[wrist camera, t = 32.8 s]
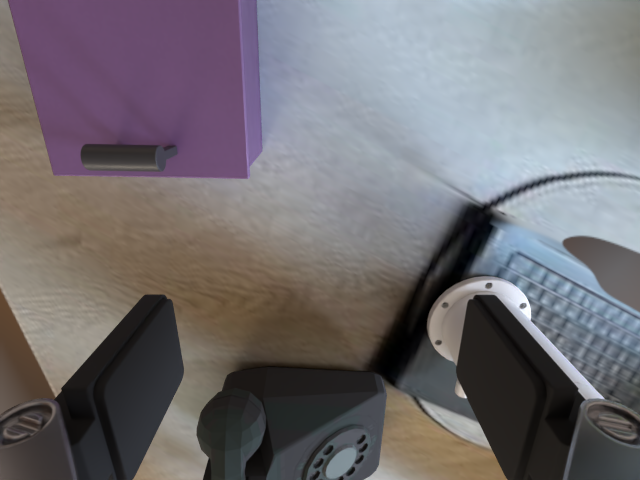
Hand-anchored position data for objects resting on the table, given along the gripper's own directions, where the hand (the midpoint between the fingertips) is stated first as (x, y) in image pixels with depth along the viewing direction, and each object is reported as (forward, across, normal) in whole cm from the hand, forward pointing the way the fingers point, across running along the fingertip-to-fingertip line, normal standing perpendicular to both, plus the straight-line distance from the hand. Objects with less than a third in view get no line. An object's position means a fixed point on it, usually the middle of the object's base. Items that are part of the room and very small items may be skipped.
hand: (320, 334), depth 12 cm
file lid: (+20, -13, +10) cm, 26 cm away
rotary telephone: (+30, -3, -39) cm, 49 cm away
